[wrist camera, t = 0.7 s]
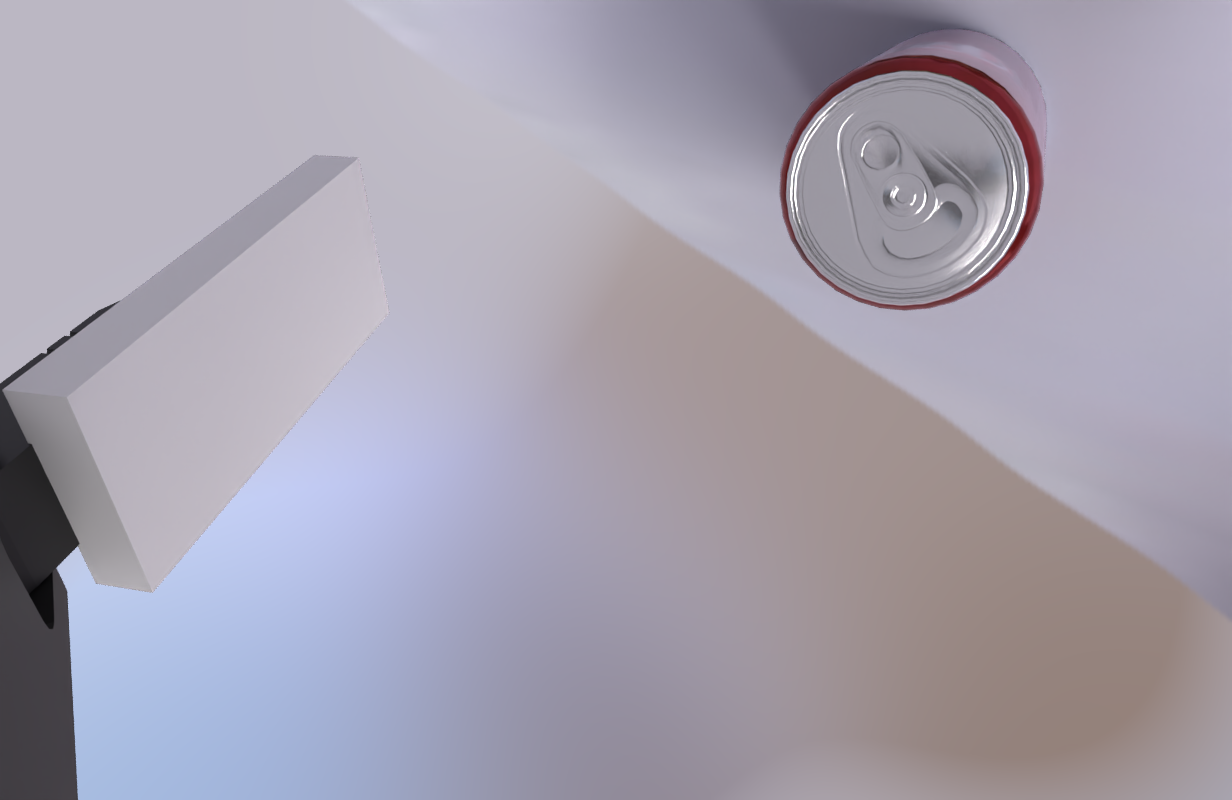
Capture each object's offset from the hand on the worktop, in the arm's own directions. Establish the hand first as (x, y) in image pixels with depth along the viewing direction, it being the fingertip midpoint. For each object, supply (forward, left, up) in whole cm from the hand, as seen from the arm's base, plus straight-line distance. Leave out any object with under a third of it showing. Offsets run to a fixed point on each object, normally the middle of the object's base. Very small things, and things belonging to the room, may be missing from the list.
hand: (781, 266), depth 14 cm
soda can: (-1, +2, -27) cm, 27 cm away
